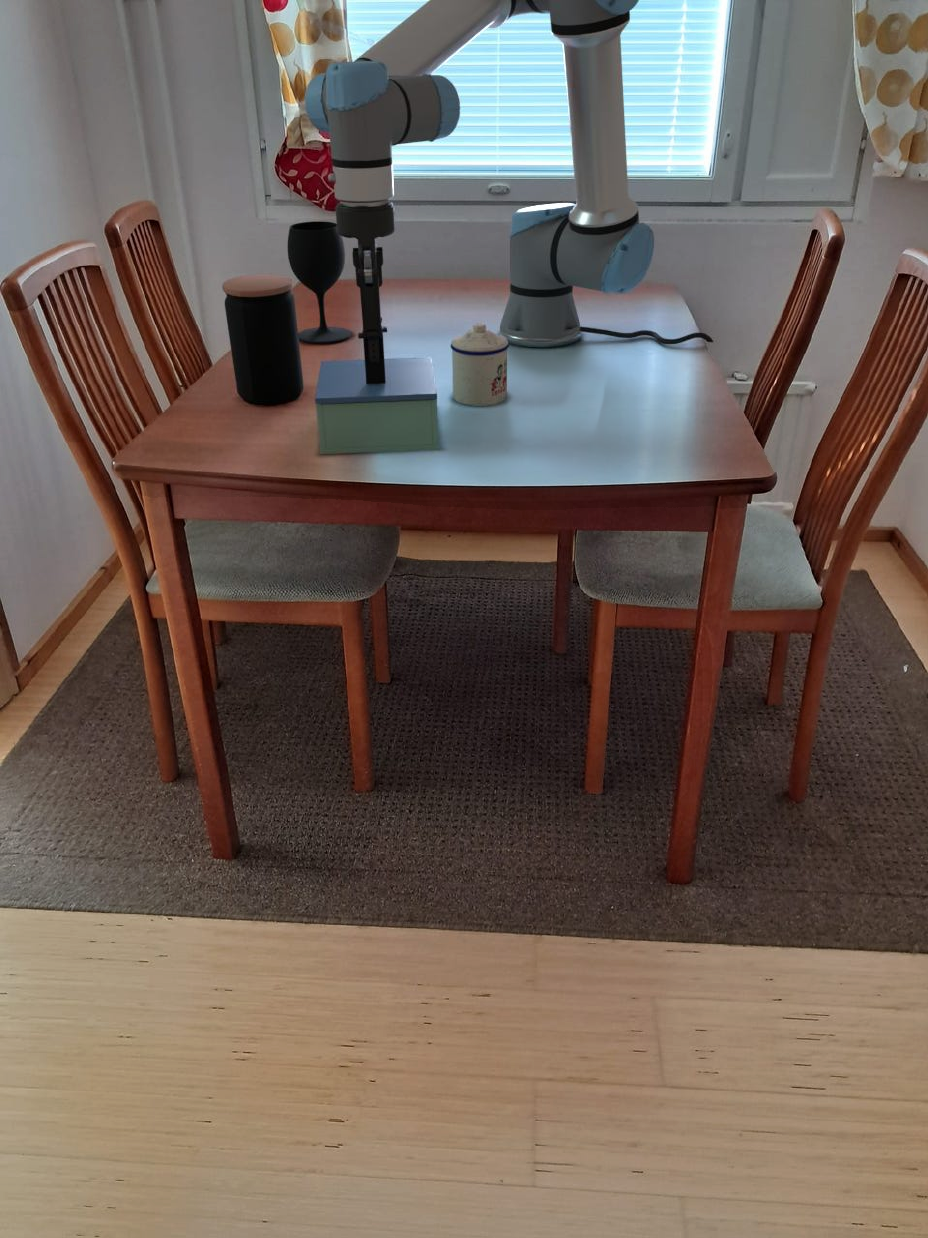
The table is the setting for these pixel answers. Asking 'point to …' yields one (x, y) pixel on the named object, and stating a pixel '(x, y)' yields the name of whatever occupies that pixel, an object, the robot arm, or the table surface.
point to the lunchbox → (378, 426)
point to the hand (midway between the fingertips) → (376, 381)
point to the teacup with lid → (479, 367)
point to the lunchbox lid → (402, 383)
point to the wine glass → (318, 271)
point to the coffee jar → (264, 339)
